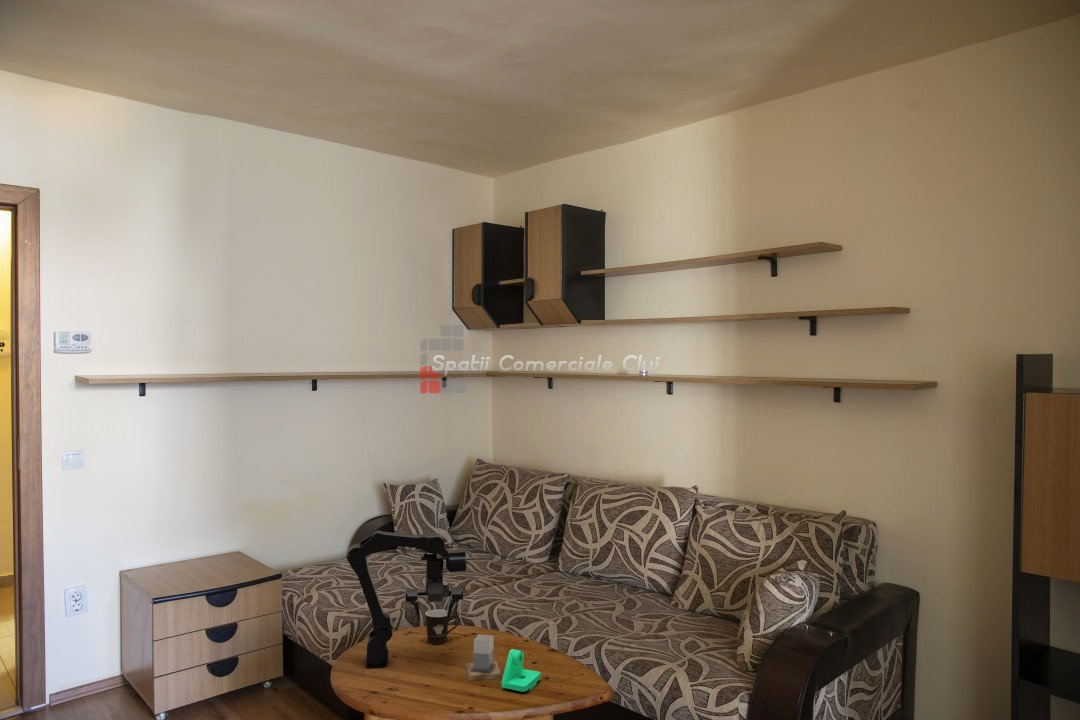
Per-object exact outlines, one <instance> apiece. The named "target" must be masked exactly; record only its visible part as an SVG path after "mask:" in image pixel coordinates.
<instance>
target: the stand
mask: <svg viewBox="0 0 1080 720" xmlns="http://www.w3.org/2000/svg"><path fill="white" fill-rule="evenodd" d="M493 663H494V664H496V666H495V667H494V669H493V670H492V672H491V673H481V672H470V669H471V668H472V667H473V662H472V663H471V662H469V663H465V672H466V675H467V678H468V681H469V682H471V681H484V680H499V679H502V672H501V669H500V667H499V665H498V661H493Z"/></svg>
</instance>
